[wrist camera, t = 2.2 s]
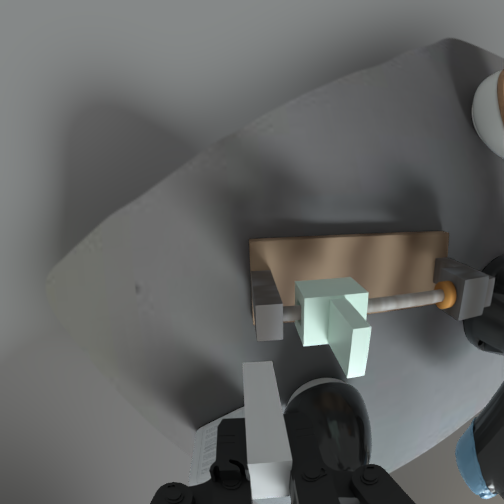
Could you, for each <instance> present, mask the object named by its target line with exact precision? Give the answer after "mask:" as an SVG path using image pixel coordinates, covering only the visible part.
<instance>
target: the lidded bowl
mask: <svg viewBox="0 0 504 504" xmlns="http://www.w3.org/2000/svg"><path fill="white" fill-rule="evenodd" d="M471 115H472V121H473V125H474V128H475V130H476V132H477V134H478V136H479V137H480V139H481V140H482V141H483V142H484V143H485V144H486V145H487V147H488V148H489V149H490V150H491V151H492V152H494V153H495V154H496V155H497V156H499V157H501V158H503V159H504V69H503V70H502V71H499V72H496V73H494V74H492V75H490V76H488V77H487V78H486V79H485V80H483V81H482V82H481V84H480V85H479V86H478V88H477V90H476V92H475V95H474V99H473V104H472V109H471Z"/></svg>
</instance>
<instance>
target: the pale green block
mask: <svg viewBox="0 0 504 504" xmlns="http://www.w3.org/2000/svg"><path fill="white" fill-rule="evenodd" d="M368 294H369V292H367V291H366V290H365V289H364V288H363V287H362V286H361V285H359V284H358V283H357V282H356V281H355V280H354V279H353V278H351V277H345V278H332V279H319V280H305V281H295V305H301V320H295V326H296V329H297V331H298V334H299V336H300V339H301V341H302V344H303V347H304V346H314V345H323V344H329V345H330V347H331V349H332V351H333V353H334V355H335V357H336V358H337V360H338V362H339V364H340V366H341V368H342V370H343V372H344V373H345V375H346V377H347V378H353V377H358V376H364V375H365V369H366V362H367V356H368V349H369V342H370V334H371V326H370V325H369V323H368V322H367V321H366V316H367V305H368Z"/></svg>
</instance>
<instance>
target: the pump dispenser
mask: <svg viewBox="0 0 504 504" xmlns="http://www.w3.org/2000/svg"><path fill="white" fill-rule="evenodd" d="M297 412H304V413H305V414H306V415H307V416H308V417H309V418H310V420H311V423H312V426H313V430H314V433H315V436H316V440H317V443H318V446H319V449H320V453H321V456H322V459H323V461H324V463H325V464H326V465H327V466H328V467H330V468H331V469H334V470H338V471H355V470H356V469H357V468H359V467H360V466H363V465H366V464H369V462H370V458H371V449H372V438H371V426H370V420H369V416H368V412H367V409H366V406H365V403H364V400H363V398H362V396H361V394H360V393H359V391H358V390H357V389H356V388H354V387H353V386H351V385H349V384H347V383H345V382H343V381H341V380H338V379H335V378H319V379H315V380H312V381H309V382H307V383H305V384H304V385H302V386H301V387H299V388H298V389H297V390H296V391H295V392H294V393H293V395H292V396H291V398H290V399H289V402H288V404H287V407H286V409H285V412H284V414H289V413H297Z"/></svg>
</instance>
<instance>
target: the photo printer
mask: <svg viewBox="0 0 504 504" xmlns="http://www.w3.org/2000/svg"><path fill="white" fill-rule="evenodd" d="M227 418H245V406H244V407H242V408H239V409H237V410H235V411H233V412H231V413H229V414H227V415H225V416H223V417H221V418H219V419H217V420H215V421H213V422H211V423H208V424H206V425H205V426H203V427H201V428H199V429H198V430H197V432H196V436H195V443H194V450H193V456H192V463H191V470H190V477H189V485H190V486H194V485H198V484H202V483H205V482H206V481H208V480H209V479H210V478H211V475H210V472H209V470H210V467H211V465H212V464H213V463H214V462H215V461H216V446H217V427H218V425H219V424H220V422H221V420H222V419H227Z"/></svg>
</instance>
